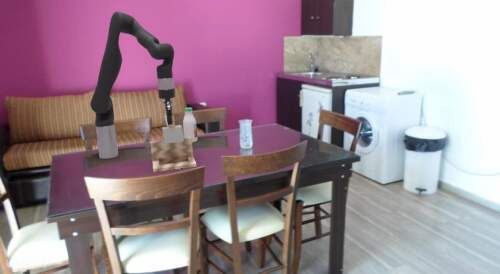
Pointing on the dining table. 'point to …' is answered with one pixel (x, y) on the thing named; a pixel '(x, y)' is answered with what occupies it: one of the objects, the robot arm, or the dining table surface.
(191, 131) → the milk bottle
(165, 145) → the woven pattern crate
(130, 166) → the dining table surface
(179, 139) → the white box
